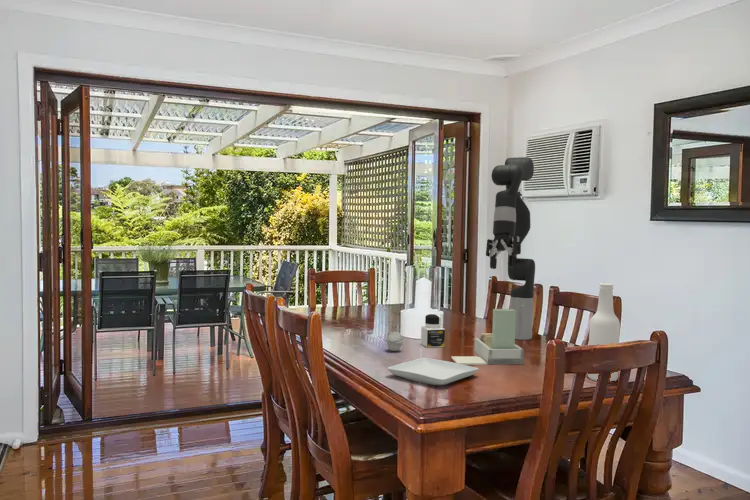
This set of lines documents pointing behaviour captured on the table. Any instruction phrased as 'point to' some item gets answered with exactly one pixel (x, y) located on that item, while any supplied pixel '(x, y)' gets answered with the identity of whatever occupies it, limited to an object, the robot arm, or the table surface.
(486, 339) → the offcut upper
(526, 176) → the robot arm
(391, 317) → the table surface
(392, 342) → the frog figurine
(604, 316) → the alcohol
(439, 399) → the table surface
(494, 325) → the board
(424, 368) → the salad plate
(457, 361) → the pad
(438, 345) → the medicine bottle
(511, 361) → the tray
